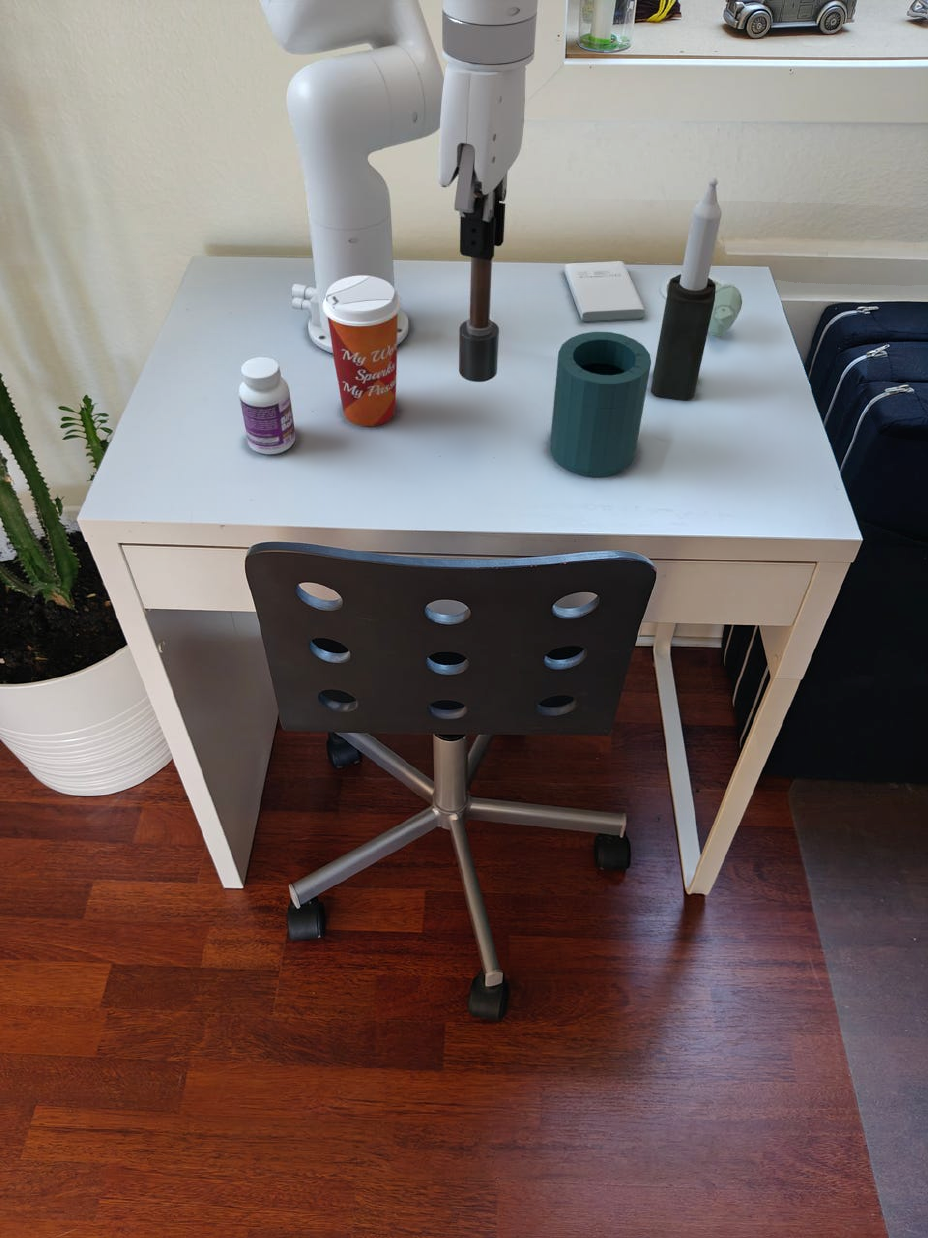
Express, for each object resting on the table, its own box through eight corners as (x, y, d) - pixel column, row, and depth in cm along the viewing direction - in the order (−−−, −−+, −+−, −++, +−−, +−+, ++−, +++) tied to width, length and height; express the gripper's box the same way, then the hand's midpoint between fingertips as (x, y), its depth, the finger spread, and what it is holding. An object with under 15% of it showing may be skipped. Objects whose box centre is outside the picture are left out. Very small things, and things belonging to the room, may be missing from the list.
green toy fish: (695, 317, 129) (705, 269, 124) (726, 317, 130) (737, 269, 124) (707, 352, 124) (718, 303, 119) (739, 352, 124) (752, 303, 119)
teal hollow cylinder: (539, 465, 109) (547, 372, 100) (563, 416, 115) (572, 324, 106) (623, 485, 107) (639, 391, 98) (643, 434, 113) (659, 341, 104)
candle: (693, 401, 117) (739, 191, 99) (649, 396, 118) (687, 186, 99) (695, 376, 121) (740, 169, 102) (653, 371, 121) (689, 164, 103)
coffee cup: (350, 440, 112) (339, 321, 101) (323, 401, 117) (309, 283, 105) (418, 419, 114) (414, 301, 103) (388, 382, 119) (382, 265, 108)
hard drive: (581, 323, 128) (564, 273, 137) (643, 319, 129) (622, 270, 137) (582, 311, 127) (565, 262, 135) (645, 308, 128) (624, 259, 136)
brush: (453, 377, 103) (455, 198, 89) (466, 356, 106) (470, 179, 92) (489, 385, 103) (497, 206, 88) (502, 364, 105) (511, 186, 91)
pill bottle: (297, 453, 110) (286, 379, 103) (248, 458, 109) (234, 384, 102) (295, 424, 114) (284, 350, 106) (248, 428, 113) (234, 354, 106)
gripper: (477, -3, 86) (472, 204, 100) (408, 63, 76) (413, 283, 90) (560, 9, 84) (544, 218, 98) (502, 77, 74) (492, 299, 88)
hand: (481, 247), depth 94 cm, fingers closed on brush, 2 cm apart
